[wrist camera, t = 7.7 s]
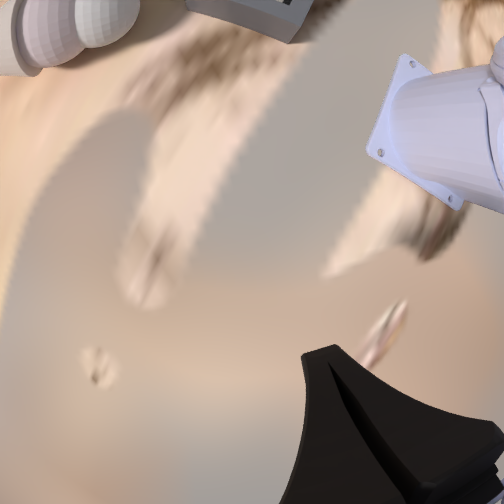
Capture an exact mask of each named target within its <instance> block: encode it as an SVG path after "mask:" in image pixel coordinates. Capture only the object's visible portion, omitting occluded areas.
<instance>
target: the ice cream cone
mask: <svg viewBox="0 0 504 504" xmlns="http://www.w3.org/2000/svg"><path fill="white" fill-rule="evenodd" d="M139 10H140V0H9V1H8V2H7V3H5V4H4V5H3V6H2V7H1V8H0V76H28V77H35V76H37V75H38V74H39V73H40V72H41V71H42V69H43V68H48V67H54V66H57V65H60V64H62V63H65V62H67V61H69V60H71V59H72V58H74V57H75V56H77V55H78V54H79V53H80V52H82V51H83V50H84V48H96V47H102V46H105V45H109V44H111V43H113V42H115V41H117V40H118V39H120V38H121V37H123V36H124V35H125V34H126V33H127V32H128V31H129V30H130V29H131V27H132V26H133V25H134V23H135V21H136V19H137V17H138V14H139Z"/></svg>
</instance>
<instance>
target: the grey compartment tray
mask: <svg viewBox="0 0 504 504" xmlns="http://www.w3.org/2000/svg"><path fill="white" fill-rule="evenodd" d="M313 1H314V0H283V2H279V1H276V0H185V2H186V7H187V10H189V11H193V12H197V13H200V14H204V15H208V16H211V17H215V18H218V19H221V20H224V21H228V22H231V23H234V24H237V25H240V26H243V27H245V28H248V29H251V30H254V31H256V32H259V33H262V34H264V35H267V36H269V37H272V38H274V39H277V40H279V41H282V42H284V43H286V44H288V43H289V42H290V41H291V39H292V38H293V37H294V35H295V34H296V33H297V31H298V30H299V29H300V27H301V26H302V24H303V21H304V19H305V17H306V15H307V13H308V11H309V9H310V7H311V5H312V3H313Z"/></svg>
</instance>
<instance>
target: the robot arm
mask: <svg viewBox="0 0 504 504" xmlns="http://www.w3.org/2000/svg"><path fill="white" fill-rule="evenodd" d="M410 62H411V63H412V65H413V68H412V67H411V66H410ZM379 149H380V150H381V151H382V154H381V156H379V155H378V150H379ZM366 152H367V154H368V155H369V156H370V157H372V158H374V159H376V160H377V161H379V162H381V163H383V164H384V165H386V166H388V167H389V168H391V169H393V170H394V171H396V172H398V173H399V174H401V175H402V176H404V177H406V178H407V179H409V180H410V181H412V182H414V183H415V184H417V185H418V186H420V187H421V188H423V189H424V190H426V191H427V192H429V193H430V194H432V195H433V196H435V197H436V198H438V199H439V200H441V201H442V202H443V203H445V204H446V205H448V206H449V207H450V208H452V209H453V210H456V211H459V210H460V209H461V207H462V205H463V202H464V200H465V201H468V202H471V203H474V204H477V205H480V206H483V207H486V208H488V209H491V210H494V211H497V212H500V213H502V214H504V36H503V37H502V38H501V39H500V40H499V41H498V42H497V43H496V45H495V48H494V53H493V55H492V57H491V60H490V64H488V65H481V66H475V67H469V68H463V69H458V70H452V71H447V72H442V73H437V74H433V73H432V72H430V71H429V70H428V69H427V68H425V67H424V66H423V65H421V64H420V63H419V62H417V61H416V60H415V59H413V58H412V57H411V56H409V55H408V54H402V55H400V56H399V58H398V61H397V64H396V66H395V69H394V72H393V75H392V78H391V81H390V84H389V86H388V89H387V92H386V95H385V97H384V100H383V103H382V106H381V108H380V111H379V114H378V116H377V119H376V121H375V124H374V127H373V129H372V132H371V134H370V137H369V139H368V142H367V144H366ZM449 196H450V199H449V200H448V198H449ZM301 361H302V366H303V372H304V377H305V383H306V404H305V417H304V424H303V431H302V436H301V441H300V445H299V450H298V454H297V458H296V461H295V464H294V467H293V470H292V473H291V476H290V479H289V482H288V485H287V487H286V490H285V492H284V494H283V496H282V499H281V501H280V503H279V504H495V503H496V502H498V501H499V500H500V499H502V501H501V504H504V478H503V479H502V480H501V481H500V480H499V478H498V477H497V475H496V473H497V472H498V468H497V467H496V465H495V464H494V463H495V462H496V461H497V459H498V458H499V457H500V455H501V454H502V453H503V451H504V433H503V432H502V431H501V429H500V428H499V427H498V426H497V425H496V424H495V423H494V422H492V421H487V420H480V419H474V418H469V417H464V416H460V415H456V414H452V413H449V412H446V411H443V410H440V409H437V408H435V407H432V406H429V405H427V404H424V403H422V402H420V401H418V400H415V399H413V398H411V397H409V396H407V395H405V394H403V393H402V392H399V391H398V390H396V389H395V388H393V387H391V386H390V385H388V384H386V383H385V382H383V381H382V380H380V379H379V378H377V377H376V376H375V375H373V374H372V373H371V372H369V371H368V370H366V369H365V368H364V367H362V366H361V365H360V364H359V363H357V362H356V361H355V360H354V359H353V358H351V357H350V356H349V355H348V354H347V353H345V352H344V351H343V350H342V349H341V348H340V347H339V346H338V345H336V344H333V345H331V346H327V347H324V348H321V349H318V350H314V351H311V352H307V353H304V354H303V355H302V356H301Z"/></svg>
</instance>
